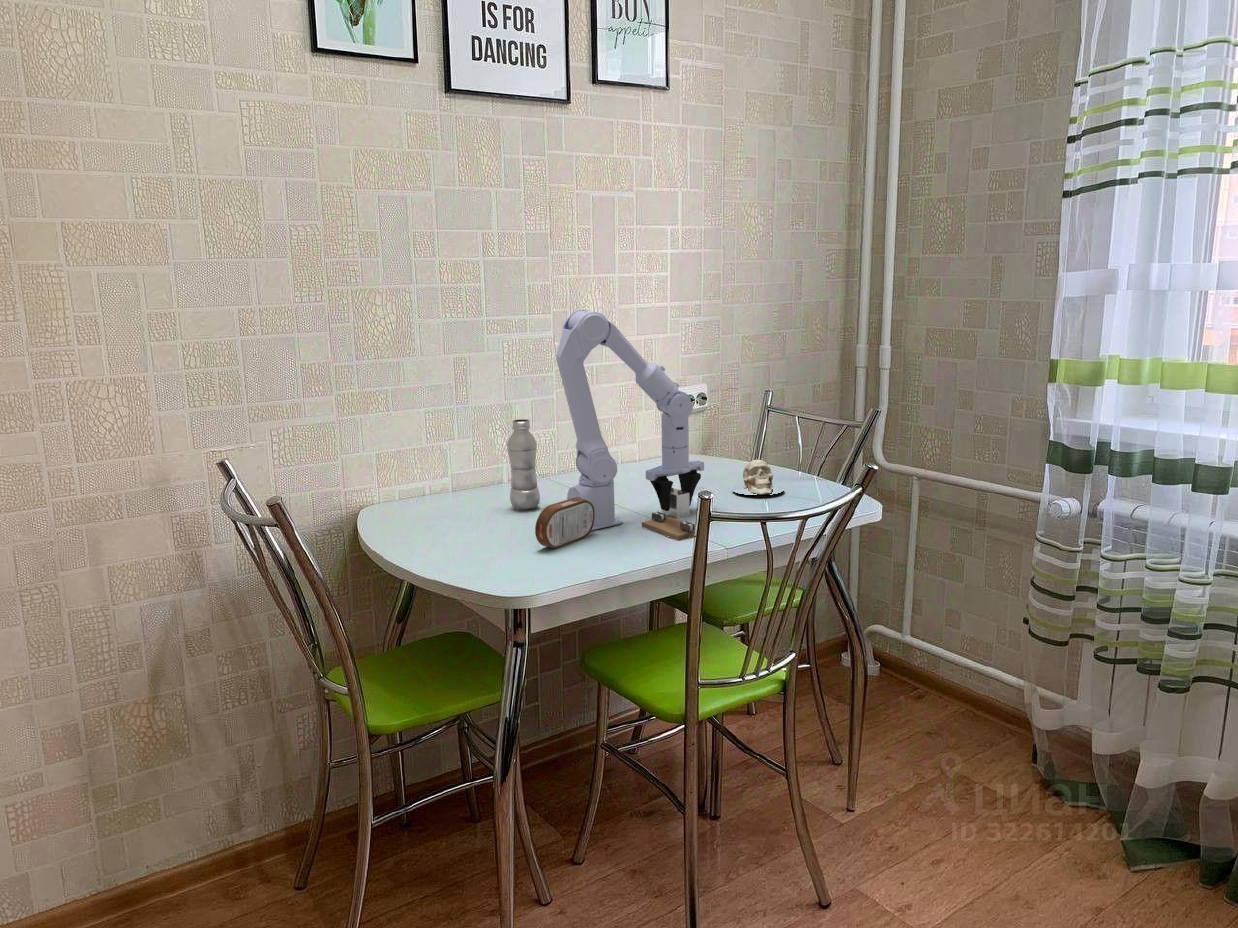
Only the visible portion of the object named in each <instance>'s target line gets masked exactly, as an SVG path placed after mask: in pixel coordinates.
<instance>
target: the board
mask: <svg viewBox="0 0 1238 928" xmlns="http://www.w3.org/2000/svg"><path fill="white" fill-rule="evenodd" d="M680 522H685V521H683V520H681V519H678V518H675V517H672V516H669V515H666V520H664V522H659V521H658V520H654V519H651V520H650V519H649V520H645V521H641V528H644V529H646V530H648V531H651V532H654V531H655V532H654V533H657V532H658V533H657V534H659V533H660V535H662V534H663V535H662V536H665V535H666V536H665V537H667V536H669V537H668V538H670V537H671V539H673V540H675V539H676V540H675V541H682V540H686V539H689V537H690V538H693V537H695V536H694V534H695V530H693V532H687V531H686V530H685V531H684V530H682V529H681V528H680ZM696 526H697V525H695V528H696Z"/></svg>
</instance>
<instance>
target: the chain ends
mask: <svg viewBox="0 0 1238 928" xmlns="http://www.w3.org/2000/svg"><path fill="white" fill-rule="evenodd" d="M666 517H667V515H666V514H664V513H662V512H661V511H655V512H652V513H651V520H653V519H654V520H658V521H659V522H664V520H666ZM695 526H696V524H695V523H692V522H689V521H687V520H686V521H684V522H680V528H681V529H682V530H684V531H685V530H686V531H687V532H693V530H695Z"/></svg>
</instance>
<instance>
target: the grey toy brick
mask: <svg viewBox="0 0 1238 928" xmlns="http://www.w3.org/2000/svg"><path fill="white" fill-rule="evenodd" d="M661 513H663V514H667V515H666V516H669V515H670V516H669V517H672V516H673V517H672V518H675V517H676V518H675V519H678V517H679V518H683V517H682V516H684V517H687V516H686V515H688V516H690V506H689V493H688V492H685V491H682V490H681V489H678V488H674V487H672V488H671V494H670V509H669V511H665V510H662V509H661Z"/></svg>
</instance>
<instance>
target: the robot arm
mask: <svg viewBox="0 0 1238 928" xmlns="http://www.w3.org/2000/svg"><path fill="white" fill-rule="evenodd" d="M561 327H562V331H561V336H560V340H559V344H558V348H557V349H556V350H557V351H556V354H555V357H556V363H557V366H558V370H559V374H560V378H561V382H562V383H561V384H562V385H563V387H562V388H563V389H564V394H565V397H566V401H567V406H568V409H569V413H570V416H571V417H570V418H571V420H572V425H573V428H574V432H575V436H576V443H575V449H576V456H575V457H576V458H575V465H576V466H575V467H576V469H577V470H578V472H579V473H581V474H580V476H579V480H578V483H577V484H576V485H574V486H571V487H570V488H569V489H568V491H567V496H566V498H567V499H566V500H568V499H571V498H574V497H580V498H582V499H585V500H587V501H589V502H591V503H592V505H593V506H594V512H595V517H594V525H593V528H592V530H591V531H595V530H599V529H603V528H604V529H605V528H608V527H612V526H613V527H614V526H618V525H622V524H624V520H621V519H619V518H616V517H615V515H616V514H615V512H616V511H615V507H616V506H615V477H616V475H617V473H618V464H617V462H616V460H615V459H614V457H612V456H611V454H610V450H609V448H608V445H607V444H606V442H605V440H604V438H603V436H602V431H601V428H600V424H599V420H598V417H597V412H596V408H595V404H594V400H593V396H592V392H591V389H590V385H589V384H590V383H589V381H588V377H587V373H586V369H585V364H584V362H585V361H586V359H587V357H588V356H589V355H590V353H591V352H592V350H594V349H595V348H596V347H597V346H599V345H600V346H603V347H607V348H608V349H610V350H611V351H612V352H613V353H614V354H615V355H616V356H617V357H618V358H619V359H620V360H621V361H622V362H623V363H624V364H625V365H627V367H628V368H630V369H631V371H633V372H634V374H635V383H636V384H637V385H638V386H639V387H640V388H641V390H642V391H643V392H644V393H645V394H646V395H647V396H648V397H649V398H650V399H651V400H652V401H653V402H654V403H655V404H656V408H657V410H658V411H660V412H661V465H659V466H658V465H657V466H655V467H653V468H650V469H646V470H645V480H647V481H649V482H650V484H651V485H652V487H653V489H654V491H655V493H656V496H657V499H658V503H659V506H660V510H661V511H662V510H665V511H669V509H670V494H671V488H673V486H674V485H673V484H674V482H673V481H672V480H669V477H672V476H677V477H678V480H679V484H680V490H682V491H685V492H688V493H689V507H690V506H691V505H692V500H693V496H694V493H695V490H696V487H697V485H698V483H699V482H700V480H701V477H702V474H701V473H700V472H703V471H705V461H702V460H691V461H690V459H689V458H690V453H689V451H690V449H689V447H690V446H689V445H690V444H689V443H690V441H689V438H690V437H689V433H690V432H689V426H690V425H689V417H690V415H691V413H692V412H693V410H694V403H692V399H691V397H690V395H689V394H687V393H686V392H684V391H681V390H680V389H679V387H680V384H679V383H678V382H676V381H673V380H672V379H671V378H670V377H669V376H668V375H667V374H666V373H665V371H666V368H665V367H664V366H663V365H661V364H658V363H656V362H647V361H646V360H645V359H644V358H643V356H642V355H641V354H640V353H639V351H638V350H637V349H636V348H635V346H633V345H632V343H631V342H630V341H629V340H628V339H627V338H626V336H625V335H624V334H623V333H622V332H621V330H620V329H619V328H618V327H617V326H615V324H614V323H613V322H611V321H608V319H607V318H606V316H605V315H604V314H602V313H601V312H598V311H588V310H586V309H578V310H575V311H573V312H572V313H571V314H570V315H569V316H568V317H567V318H566V320H565V321H564V323H563V324H562V326H561Z"/></svg>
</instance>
